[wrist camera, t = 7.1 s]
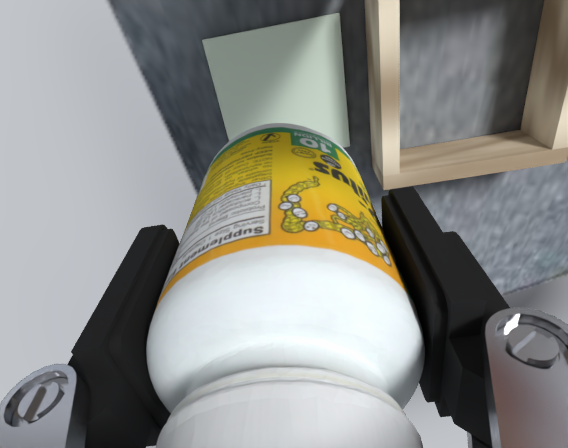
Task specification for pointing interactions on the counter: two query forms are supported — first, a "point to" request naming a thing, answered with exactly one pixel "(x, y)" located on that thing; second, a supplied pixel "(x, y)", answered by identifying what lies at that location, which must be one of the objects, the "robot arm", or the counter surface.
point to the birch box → (478, 150)
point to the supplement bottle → (285, 307)
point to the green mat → (282, 77)
